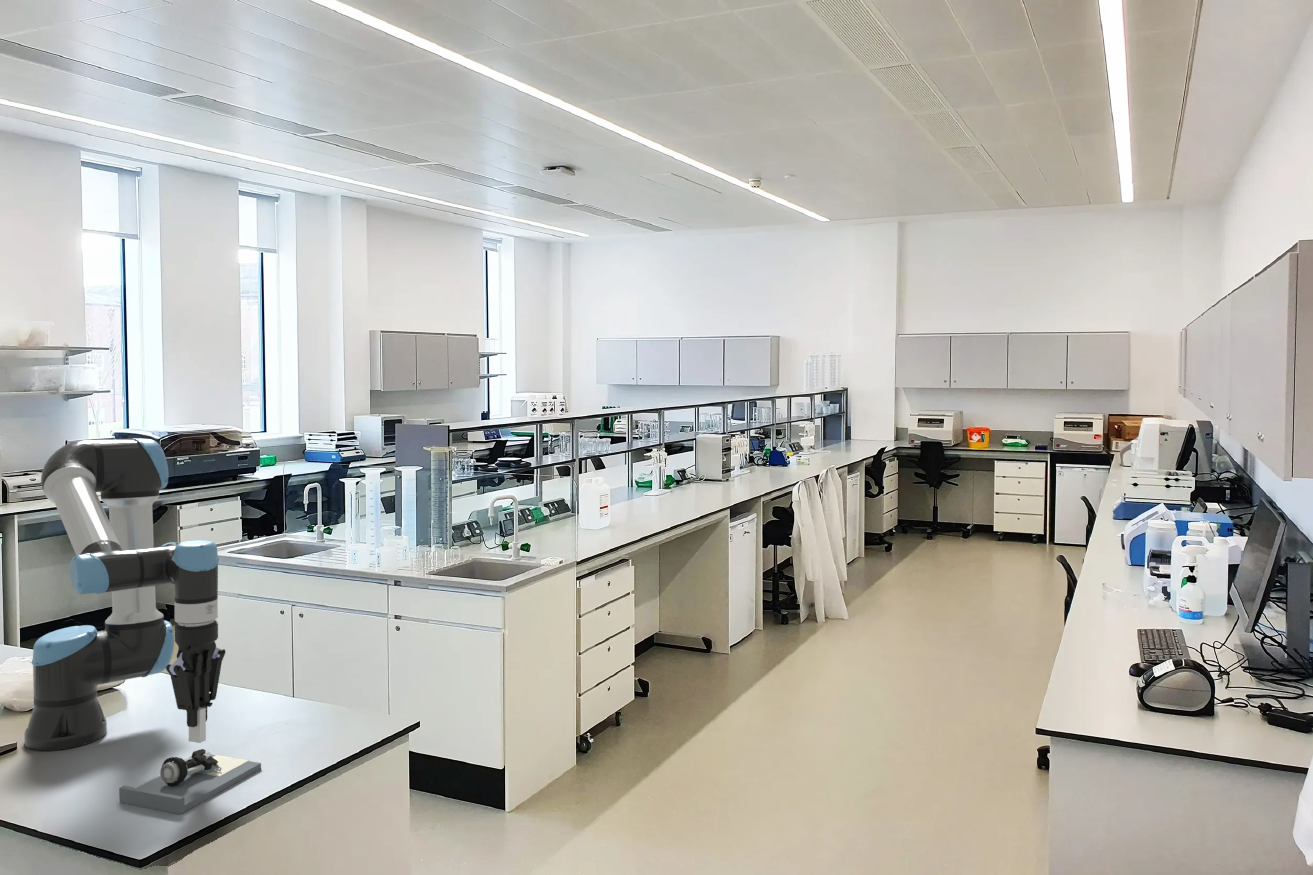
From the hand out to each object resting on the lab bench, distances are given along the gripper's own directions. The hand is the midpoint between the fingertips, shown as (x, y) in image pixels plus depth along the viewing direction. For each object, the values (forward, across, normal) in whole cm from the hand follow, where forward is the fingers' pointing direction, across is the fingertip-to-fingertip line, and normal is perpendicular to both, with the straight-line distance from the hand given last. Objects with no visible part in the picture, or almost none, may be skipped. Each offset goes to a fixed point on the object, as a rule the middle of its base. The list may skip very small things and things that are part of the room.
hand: (197, 740), depth 181 cm
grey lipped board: (+8, -1, 0) cm, 8 cm away
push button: (+6, +4, 0) cm, 7 cm away
